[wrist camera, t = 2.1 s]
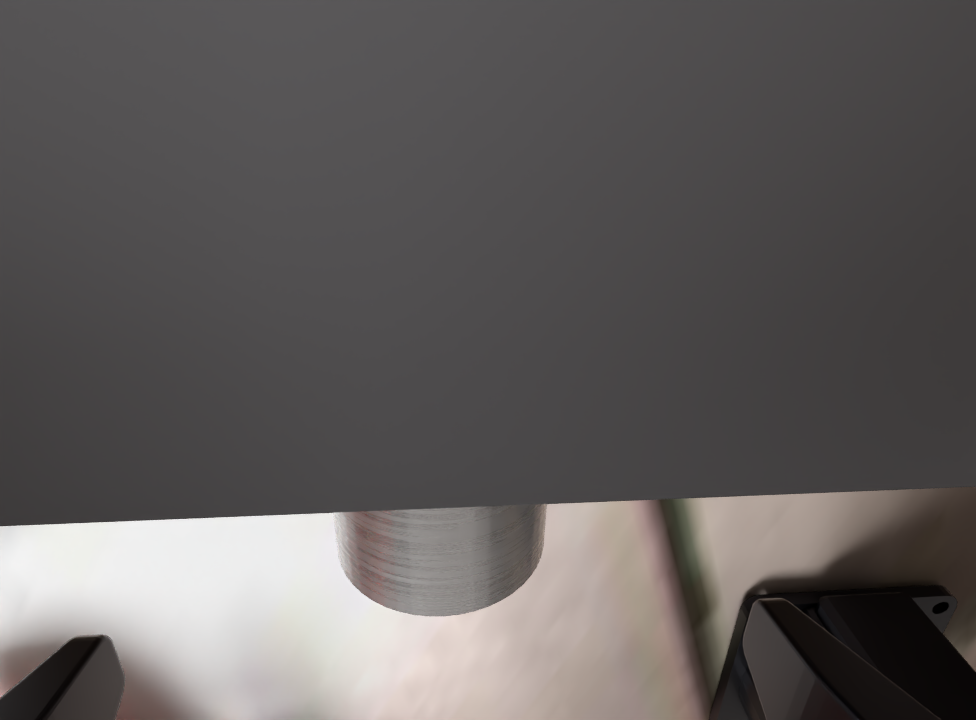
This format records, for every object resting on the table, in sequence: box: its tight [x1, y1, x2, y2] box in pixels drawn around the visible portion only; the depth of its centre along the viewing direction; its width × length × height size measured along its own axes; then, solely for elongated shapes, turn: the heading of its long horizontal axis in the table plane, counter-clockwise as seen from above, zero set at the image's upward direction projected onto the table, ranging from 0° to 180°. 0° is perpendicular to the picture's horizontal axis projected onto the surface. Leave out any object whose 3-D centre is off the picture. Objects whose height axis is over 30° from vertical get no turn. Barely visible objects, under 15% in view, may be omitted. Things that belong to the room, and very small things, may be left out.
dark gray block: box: [0, 0, 976, 526], centre depth 6 cm, size 3×12×7 cm, turn 89°
